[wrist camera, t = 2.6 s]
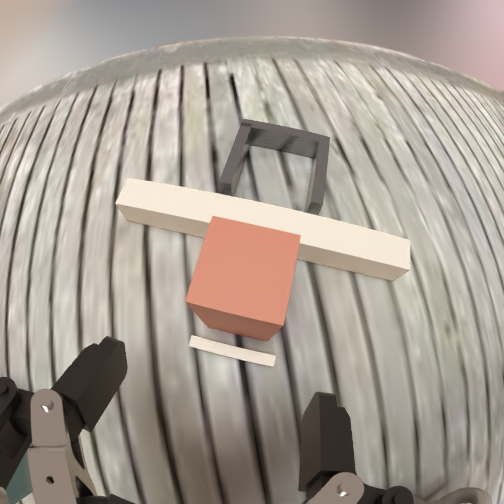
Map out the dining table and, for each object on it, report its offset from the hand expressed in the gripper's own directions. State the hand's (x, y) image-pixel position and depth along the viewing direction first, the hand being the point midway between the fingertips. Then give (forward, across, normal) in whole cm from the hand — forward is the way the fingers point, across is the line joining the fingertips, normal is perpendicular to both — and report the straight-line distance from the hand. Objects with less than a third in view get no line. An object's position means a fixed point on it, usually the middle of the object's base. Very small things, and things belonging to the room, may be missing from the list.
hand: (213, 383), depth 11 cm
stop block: (+11, 0, +3) cm, 11 cm away
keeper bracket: (+20, 0, -6) cm, 20 cm away
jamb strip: (+12, 0, +2) cm, 12 cm away
